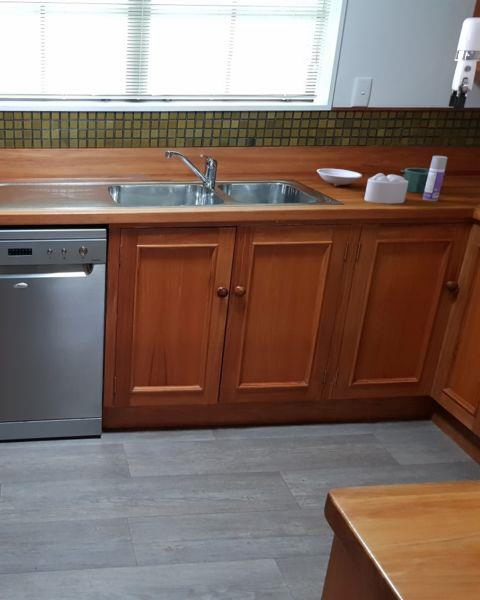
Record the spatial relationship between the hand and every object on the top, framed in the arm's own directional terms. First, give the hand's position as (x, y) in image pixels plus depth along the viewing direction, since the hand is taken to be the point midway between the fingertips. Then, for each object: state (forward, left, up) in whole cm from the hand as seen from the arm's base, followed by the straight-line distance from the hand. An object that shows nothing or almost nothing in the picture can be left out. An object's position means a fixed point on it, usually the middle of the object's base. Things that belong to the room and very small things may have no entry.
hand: (455, 107), depth 218 cm
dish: (+35, +7, -30) cm, 47 cm away
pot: (+6, +2, -30) cm, 31 cm away
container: (+4, +18, -30) cm, 35 cm away
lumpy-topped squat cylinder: (+20, +26, -30) cm, 44 cm away
